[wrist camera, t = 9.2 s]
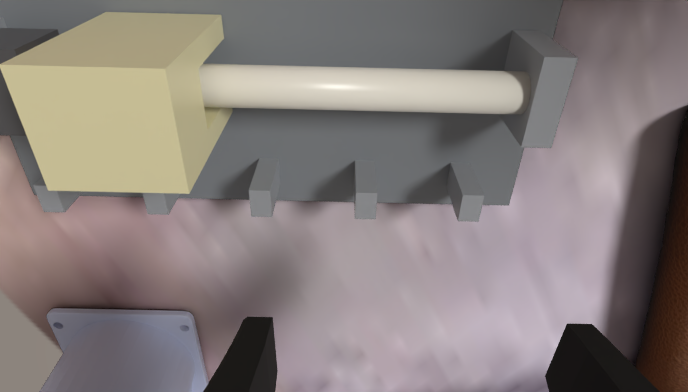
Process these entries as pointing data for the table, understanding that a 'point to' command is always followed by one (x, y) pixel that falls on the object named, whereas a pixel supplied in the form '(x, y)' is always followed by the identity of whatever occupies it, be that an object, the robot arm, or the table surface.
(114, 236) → the table surface
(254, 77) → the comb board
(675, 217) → the sunglasses case
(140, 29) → the cream block on rod
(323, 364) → the table surface
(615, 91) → the table surface
